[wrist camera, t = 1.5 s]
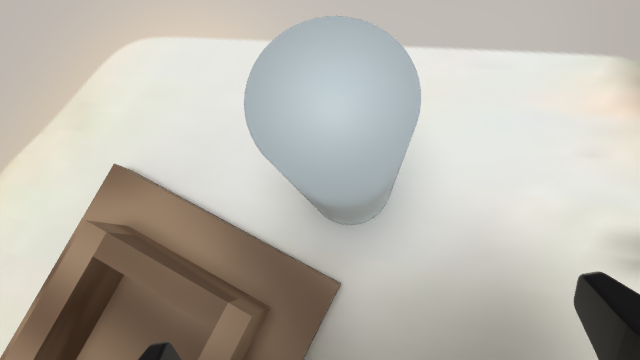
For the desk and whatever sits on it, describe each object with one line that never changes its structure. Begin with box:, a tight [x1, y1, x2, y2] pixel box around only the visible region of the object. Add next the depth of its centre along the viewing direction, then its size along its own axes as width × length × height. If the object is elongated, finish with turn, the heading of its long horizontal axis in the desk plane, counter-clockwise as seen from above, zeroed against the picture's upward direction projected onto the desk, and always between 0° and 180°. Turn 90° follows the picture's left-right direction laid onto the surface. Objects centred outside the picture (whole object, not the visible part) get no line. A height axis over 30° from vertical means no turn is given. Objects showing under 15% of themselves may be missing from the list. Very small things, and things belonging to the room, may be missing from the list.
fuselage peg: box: [244, 16, 421, 225], centre depth 17 cm, size 4×4×13 cm
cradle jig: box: [0, 164, 341, 360], centre depth 21 cm, size 14×14×5 cm
